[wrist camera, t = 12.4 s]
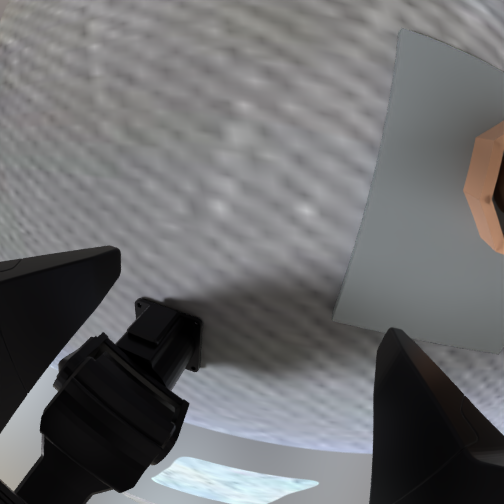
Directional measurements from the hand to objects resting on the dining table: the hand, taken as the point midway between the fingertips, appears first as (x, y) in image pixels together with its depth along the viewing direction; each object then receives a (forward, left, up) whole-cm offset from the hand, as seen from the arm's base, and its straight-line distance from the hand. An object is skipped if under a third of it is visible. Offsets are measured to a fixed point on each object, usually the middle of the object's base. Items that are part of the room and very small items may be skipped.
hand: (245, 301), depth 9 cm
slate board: (+3, -13, -12) cm, 17 cm away
